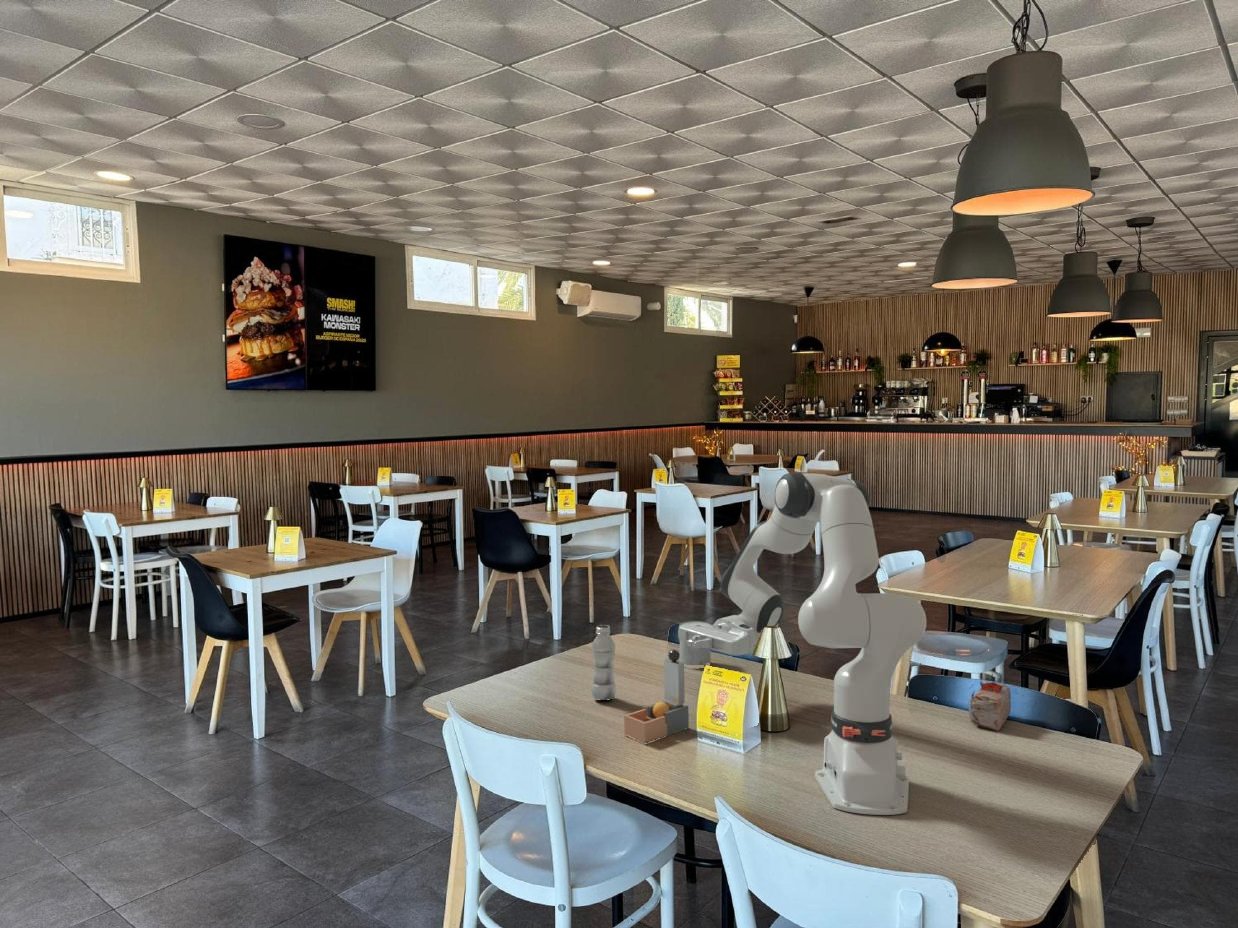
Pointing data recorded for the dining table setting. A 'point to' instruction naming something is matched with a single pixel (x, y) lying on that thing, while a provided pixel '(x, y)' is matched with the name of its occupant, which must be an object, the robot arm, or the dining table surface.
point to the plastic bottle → (603, 664)
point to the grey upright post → (674, 681)
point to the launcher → (673, 718)
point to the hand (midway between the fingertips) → (691, 644)
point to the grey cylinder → (694, 651)
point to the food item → (990, 705)
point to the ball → (660, 709)
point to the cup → (644, 726)
